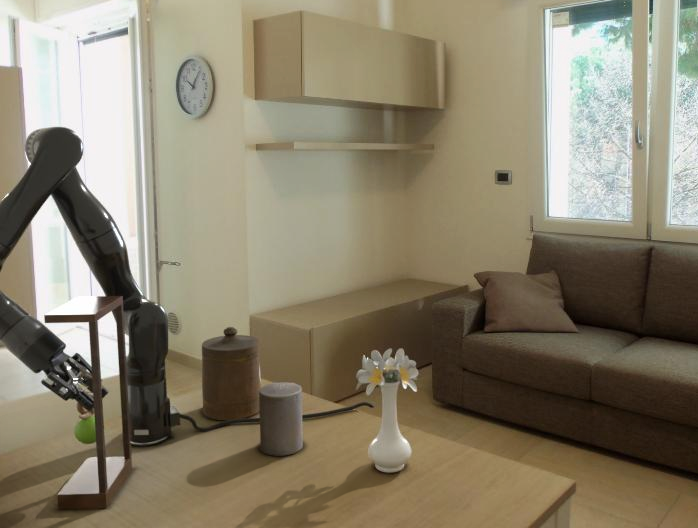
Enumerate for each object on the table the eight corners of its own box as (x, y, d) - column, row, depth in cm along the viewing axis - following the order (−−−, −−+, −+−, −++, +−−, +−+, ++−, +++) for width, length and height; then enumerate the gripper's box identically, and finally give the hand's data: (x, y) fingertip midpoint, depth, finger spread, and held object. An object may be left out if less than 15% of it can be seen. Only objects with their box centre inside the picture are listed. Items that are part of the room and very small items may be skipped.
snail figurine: (114, 437, 138) (111, 379, 136) (91, 450, 132) (87, 390, 130) (92, 433, 140) (89, 376, 138) (68, 446, 134) (65, 387, 132)
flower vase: (419, 447, 155) (419, 340, 152) (417, 486, 137) (417, 365, 134) (362, 445, 157) (361, 339, 153) (352, 484, 138) (351, 364, 135)
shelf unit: (57, 509, 129) (44, 315, 124) (88, 470, 145) (77, 296, 140) (106, 508, 130) (94, 314, 125) (132, 469, 145) (122, 295, 141)
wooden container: (272, 404, 182) (270, 323, 180) (238, 424, 169) (235, 337, 166) (226, 396, 188) (223, 318, 186) (190, 415, 175) (187, 331, 172)
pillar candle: (251, 452, 153) (249, 387, 152) (274, 435, 162) (273, 374, 160) (289, 459, 150) (288, 393, 148) (311, 441, 159) (309, 379, 157)
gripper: (29, 340, 126) (99, 401, 128) (61, 321, 140) (124, 376, 142) (2, 368, 126) (72, 429, 128) (36, 346, 140) (99, 401, 142)
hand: (99, 401), depth 135 cm, fingers closed on snail figurine, 5 cm apart
